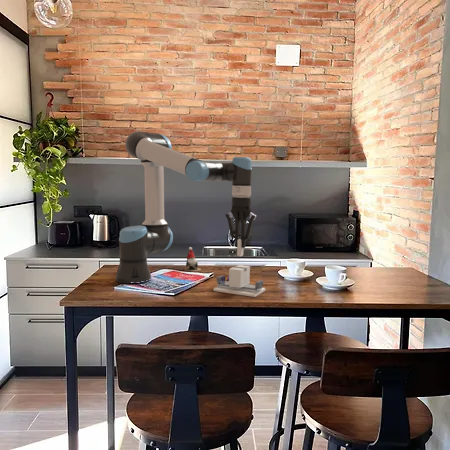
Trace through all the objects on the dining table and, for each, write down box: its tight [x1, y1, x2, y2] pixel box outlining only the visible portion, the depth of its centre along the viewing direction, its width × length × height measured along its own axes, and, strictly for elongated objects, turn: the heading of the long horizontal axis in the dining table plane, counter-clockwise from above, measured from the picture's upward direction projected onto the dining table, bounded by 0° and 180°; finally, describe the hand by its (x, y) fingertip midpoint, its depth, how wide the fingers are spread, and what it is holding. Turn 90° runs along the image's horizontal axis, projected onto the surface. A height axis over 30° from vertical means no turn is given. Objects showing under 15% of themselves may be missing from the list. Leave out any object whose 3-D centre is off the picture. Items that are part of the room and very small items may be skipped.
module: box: [228, 264, 251, 288], centre depth 172 cm, size 5×9×7 cm, turn 154°
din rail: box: [216, 274, 264, 293], centre depth 172 cm, size 19×6×4 cm, turn 63°
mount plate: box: [213, 286, 266, 298], centre depth 172 cm, size 18×11×1 cm, turn 63°
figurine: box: [185, 246, 202, 272], centre depth 211 cm, size 8×10×12 cm
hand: (240, 255), depth 171 cm, fingers closed
